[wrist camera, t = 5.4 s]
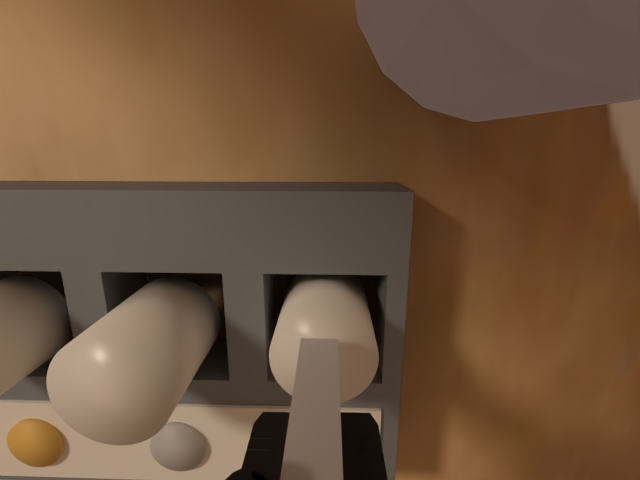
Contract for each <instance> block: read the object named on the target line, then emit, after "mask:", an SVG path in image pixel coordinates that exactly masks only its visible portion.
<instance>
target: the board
mask: <svg viewBox="0 0 640 480" xmlns="http://www.w3.org/2000/svg"><path fill="white" fill-rule="evenodd" d="M413 203H414V191H412V190H410V189H409V188H407V187H405V186H404V185H402V184H400V183H365V182H122V181H0V280H1V279H4V278H6V277H9V276H15V275H17V272H16V271H61V275H62V280H63V286H64V291H65V296H66V301H67V307H68V312H69V317H70V322H71V328H72V333H73V338H71V339H70V341H72V340H73V339H74V338H76V337H77V336H78V335H80V334H81V333H82V332H84V331H85V330H86V329H88V328H89V327H90V326H92V325H93V324H94V323H96V322H97V321H98V320H100V319H101V318H102V317H104V316H105V315H106V314H107V313H109V312H110V311H111V310H113V309H114V308H115V307H117V306H118V305H119V304H121V303H122V302H123V301H125V300H126V299H127V298H129V297H130V296H131V295H133V294H134V293H135V292H137V291H138V290H139V289H141V288H142V287H143V286H145V285H146V278H145V272H150V273H222V281H223V295H224V309H225V323H226V337H227V341H215V342H214V344H213V345H212V347H211V349H210V350H209V352H208V354H207V356H206V357H205V359H204V361H203V362H202V364H201V366H200V367H199V369H198V371H197V372H196V374H195V376H194V377H193V379H192V381H191V382H190V384H189V386H188V388H187V389H186V391H185V393H184V394H183V396H182V398H181V399H180V401H179V403H178V404H177V406H176V408H175V409H174V411H173V413H172V415H171V416H170V418H169V420H168V421H167V423H166V424H165V426H164V427H163V428H162V429H161V430H160V431H159V432H158V433H157V434H156V435H154V436H153V437H151V438H150V439H148V440H146V441H143V442H140V443H137V444H132V445H121V446H118V445H108V444H103V443H100V442H96V441H93V440H91V439H89V438H86V437H85V436H83V435H81V434H79V433H78V432H76V431H75V430H73V429H72V428H71V427H70V426H68V425H67V424H66V423H65V422H64V421H63V420H62V419H61V417H60V416H59V415H58V413H57V412H56V410H55V409H54V407H53V405H52V403H51V401H50V398H49V395H48V392H47V385H46V379H47V371H48V368H49V365H50V363H51V361H52V359H53V357H54V356H55V355H56V354H55V355H54V356H52V357H51V358H50V359H48V360H47V361H46V362H44V363H43V364H42V365H40V366H39V367H38V368H36V369H35V370H34V371H33V372H31V373H30V374H29V375H27V376H26V377H25V378H23V379H22V380H21V381H19V382H18V383H17V384H15V385H14V386H13V387H11V388H10V389H9V390H8V391H6V392H5V393H4V394H2V395H1V396H0V479H8V480H225V479H226V478H227V477H229V476H230V475H231V474H232V473H233V472H235V471H237V470H239V469H241V468H242V464H243V461H244V457H245V453H246V451H247V446H248V442H249V440H250V435H251V431H252V427H253V424H254V422H255V421H256V420H257V419H258V417H259V416H260V415H261V414H262V412H290V408H291V402H292V396H291V395H290V394H289V393H287V392H286V391H285V390H284V389H283V388H282V387H281V386H280V385H279V383H278V382H277V381H276V379H275V377H274V375H273V373H272V371H271V367H270V362H269V350H270V345H271V341H272V338H273V335H274V332H275V328H276V325H277V322H278V318H277V287H276V274H318V275H377V277H376V301H375V324H374V334H375V338H376V343H377V347H378V353H379V362H378V368H377V371H376V374H375V376H374V378H373V380H372V382H371V383H370V384H369V386H368V387H367V388H366V389H365V390H364V391H363V392H362V393H361V394H359V395H358V396H356V397H355V398H353V399H351V400H349V401H346V402H343V403H340V409H341V412H357V413H370V414H371V415H372V416H373V418H374V419H375V421H376V422H377V424H378V426H379V432H380V438H381V443H382V449H383V455H384V461H385V467H386V473H387V479H388V480H395V474H396V459H397V444H398V429H399V414H400V399H401V384H402V369H403V354H404V338H405V323H406V308H407V293H408V278H409V263H410V248H411V233H412V218H413ZM70 341H69V342H70ZM69 342H68V343H69Z"/></svg>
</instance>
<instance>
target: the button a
mask: <svg viewBox="0 0 640 480" xmlns="http://www.w3.org/2000/svg"><path fill="white" fill-rule="evenodd" d="M72 334H73V333H72V328H71V322H70V317H69V312H68V307H67V301H66V300H65V298H64V297H63V296H62V295H61V294H60V292H59V291H57V290H56V289H55V288H54V287H53V286H51V285H50V284H48V283H46V282H45V281H43V280H40V279H38V278H35V277H31V276H26V275H15V276H9V277H6V278H4V279H1V280H0V396H1V395H2V394H4V393H5V392H6V391H8V390H9V389H10V388H11V387H13V386H14V385H15V384H17V383H18V382H19V381H21V380H22V379H23V378H25V377H26V376H27V375H29V374H30V373H31V372H33V371H34V370H35V369H36V368H38V367H39V366H40V365H42V364H43V363H44V362H46V361H47V360H48V359H50V358H51V357H52V356H54V355H55V354H56V353H57V352H58V351H59V350H60V349H61V348H63V347H64V346H65V345H66V344H68V342H69V341H70V339H71V337H72Z"/></svg>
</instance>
